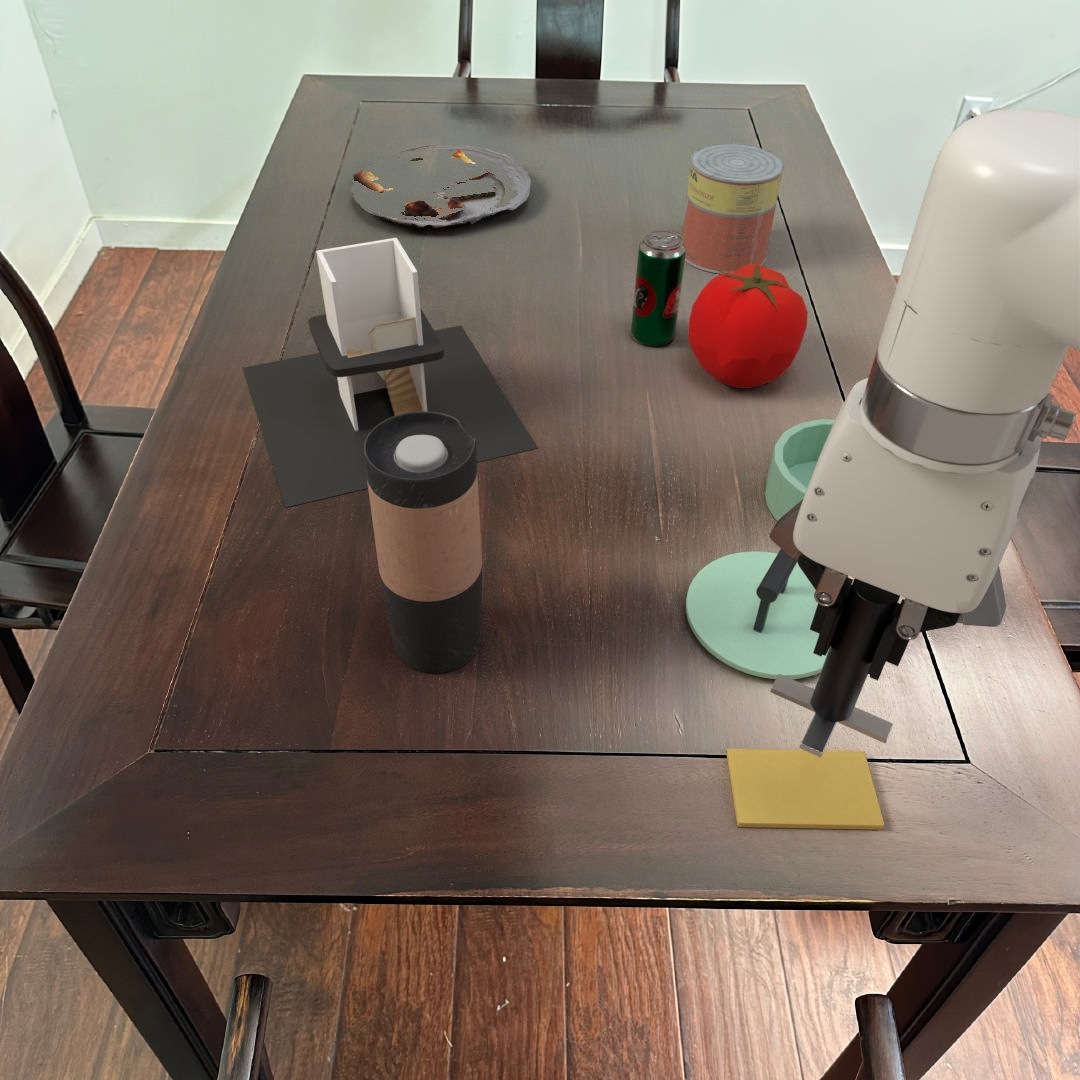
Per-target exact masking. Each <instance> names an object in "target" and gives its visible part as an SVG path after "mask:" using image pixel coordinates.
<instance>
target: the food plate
mask: <svg viewBox="0 0 1080 1080" xmlns="http://www.w3.org/2000/svg"><path fill="white" fill-rule="evenodd" d="M426 148H427V149H430V150H433V149H435V150H442V151H443V150H446V151H447V150H448V151H452V150H453V151H457V152H455V153H454V154H453V155H452V157H451V158H460V159H462V160H463V161H464V162H465V163H472V164H476V163H475V162H472V160H471V159H469V158H468V157H467V156H465V153H466V154H470V155H474V156H479V157H480V158H484V159H487V160H489V161H493V163H496V164H498V165H501V166H502V170H507V171H510V172H508V174H507V175H506V176H508V177H507V178H509V179H513V180H512V181H514V182H513V183H516V184H517V185H516V186H515V187H512V189H511V190H514V189H516V190H518V192H517V193H518V195H517V196H516V197H515V198H514V199H511V200H510V202H509V203H511V204H508V205H506V206H504V207H499V208H496V207H495V205H497V204H498V203H500V202H501V201H502V199H503V197H504V195H505V188H504V185H503V183H502V182H501V181H500V180H498V179H496V177H494V176H495V175H494V174H492V173H490V172H488V170H486V169H485V170H486V172H488V173H485V174H483V175H481V176H478V177H474V178H472V179H471V178H469V180H481V179H490V178H491V179H492V183H494V185H495V186H496V187H493V188H494V189H495V192H488V193H481V194H473V195H467V196H461V197H452V198H450V201H449V202H448V203H447V204H448V207H449V208H450V209H453V208H454V209H455V208H462V207H463V206H464V205H465V206H466V208H465V209H464V210H461V211H458V212H456V213H452V214H449V215H446V216H443V217H441V218H439V219H440V220H441V222H433V221H432V220H426V219H425V218H424V220H418V219H416V218H415V219H407V218H405V219H404V220H403V219H397V218H392V217H388V216H387V217H388V218H387V217H385V216H384V215H383V216H382V215H381V216H382V217H384V218H385V219H384V218H383V219H384V220H388V221H389V220H391V221H393V222H392V223H394V222H396V223H398V224H397V225H403V226H411V227H412V226H413V227H414V225H415V227H416V226H418V227H417V228H420V227H422V228H424V227H426V226H432V228H436V229H438V228H442V227H446V226H455V225H466V224H467V222H470V225H473V224H474V223H477V222H478V221H481V220H482V219H483V218H482V217H484V218H487V217H491V216H490V215H492V216H494V215H495V214H497V213H499V212H504V211H505V210H506V211H507V210H508V211H514V210H516V209H517V208H519V207H520V206H521V205H523V204H524V202H526V201H528V198H529V197H530V192H531V184H532V179H531V176H530V175H529V173H528V169H526V168H525V167H524V166H523V165H522V164H521V163H519V162H518V161H516V160H515V159H513V158H512V157H510V156H509V155H507V154H504V153H499V152H497V151H494V150H491V149H488V148H483V147H479V146H470V145H459V144H458V145H455V144H454V145H433V146H432V145H423V146H418V147H413V148H410V149H406V150H402V151H400V152H398V153H402V152H406V151H415V150H421V149H424V150H426ZM411 159H412V160H410V161H418V160H423V158H421V157H419V158H411ZM478 166H479V165H478ZM499 168H500V167H499ZM483 169H484V168H483ZM493 175H494V176H493ZM352 177H353V178H352V180H353V179H354V181H358V182H359V183H361V184H362V185H364V186H366V187H367V188H369V189H371V190H374V191H380V192H378V193H383V192H384V191H385V190H386V191H391V190H393V188H389V189H384V188H383V187H382V186H381V185H380V184H378V183H372V182H371V181H374V180H378V179H379V178H378V177H375V176H374V175H373V174H372V173H371V172H367V171H365V172H364V171H362V170H359V171H357V172H356V173H353V175H352ZM466 181H467V180H466ZM455 183H457V182H455ZM460 183H466V182H459V183H457V184H460ZM511 183H512V182H511ZM447 188H449V187H447ZM453 188H454V187H453ZM443 189H444V188H443ZM451 189H452V188H451ZM444 190H447V189H444ZM433 193H436V194H438V195H440V194H445V192H433ZM435 196H436V195H435ZM440 196H441V197H438V198H442V199H447V200H448V197H446V196H443V195H440ZM438 198H437V199H438ZM404 207H405V211H404V212H405V214H404V212H401V213H402V215H405V216H414V217H416V216H421V217H422V216H431V217H436V216H437V215H439V214H438V212H437V211H436V210H435V209H432V206H430V205H428V203H426V202H425V201H424V200H422V201H421V200H418V201H411V202H408V203H406V206H404ZM434 208H436V207H434ZM490 208H491V210H490ZM436 209H439V210H445V209H442V208H436ZM492 211H493V212H492ZM372 213H373V212H372ZM395 213H398V212H395ZM401 213H399V214H401ZM373 214H375V215H378V216H379V214H380V213H379V214H376V213H373ZM486 216H487V217H486ZM382 217H381V218H382ZM464 217H467V218H469V219H467V220H465V219H463V218H464ZM481 218H482V219H481ZM477 219H479V220H477ZM391 221H390V222H391ZM422 221H423V222H422ZM460 222H463V223H460ZM396 223H395V224H396Z"/></svg>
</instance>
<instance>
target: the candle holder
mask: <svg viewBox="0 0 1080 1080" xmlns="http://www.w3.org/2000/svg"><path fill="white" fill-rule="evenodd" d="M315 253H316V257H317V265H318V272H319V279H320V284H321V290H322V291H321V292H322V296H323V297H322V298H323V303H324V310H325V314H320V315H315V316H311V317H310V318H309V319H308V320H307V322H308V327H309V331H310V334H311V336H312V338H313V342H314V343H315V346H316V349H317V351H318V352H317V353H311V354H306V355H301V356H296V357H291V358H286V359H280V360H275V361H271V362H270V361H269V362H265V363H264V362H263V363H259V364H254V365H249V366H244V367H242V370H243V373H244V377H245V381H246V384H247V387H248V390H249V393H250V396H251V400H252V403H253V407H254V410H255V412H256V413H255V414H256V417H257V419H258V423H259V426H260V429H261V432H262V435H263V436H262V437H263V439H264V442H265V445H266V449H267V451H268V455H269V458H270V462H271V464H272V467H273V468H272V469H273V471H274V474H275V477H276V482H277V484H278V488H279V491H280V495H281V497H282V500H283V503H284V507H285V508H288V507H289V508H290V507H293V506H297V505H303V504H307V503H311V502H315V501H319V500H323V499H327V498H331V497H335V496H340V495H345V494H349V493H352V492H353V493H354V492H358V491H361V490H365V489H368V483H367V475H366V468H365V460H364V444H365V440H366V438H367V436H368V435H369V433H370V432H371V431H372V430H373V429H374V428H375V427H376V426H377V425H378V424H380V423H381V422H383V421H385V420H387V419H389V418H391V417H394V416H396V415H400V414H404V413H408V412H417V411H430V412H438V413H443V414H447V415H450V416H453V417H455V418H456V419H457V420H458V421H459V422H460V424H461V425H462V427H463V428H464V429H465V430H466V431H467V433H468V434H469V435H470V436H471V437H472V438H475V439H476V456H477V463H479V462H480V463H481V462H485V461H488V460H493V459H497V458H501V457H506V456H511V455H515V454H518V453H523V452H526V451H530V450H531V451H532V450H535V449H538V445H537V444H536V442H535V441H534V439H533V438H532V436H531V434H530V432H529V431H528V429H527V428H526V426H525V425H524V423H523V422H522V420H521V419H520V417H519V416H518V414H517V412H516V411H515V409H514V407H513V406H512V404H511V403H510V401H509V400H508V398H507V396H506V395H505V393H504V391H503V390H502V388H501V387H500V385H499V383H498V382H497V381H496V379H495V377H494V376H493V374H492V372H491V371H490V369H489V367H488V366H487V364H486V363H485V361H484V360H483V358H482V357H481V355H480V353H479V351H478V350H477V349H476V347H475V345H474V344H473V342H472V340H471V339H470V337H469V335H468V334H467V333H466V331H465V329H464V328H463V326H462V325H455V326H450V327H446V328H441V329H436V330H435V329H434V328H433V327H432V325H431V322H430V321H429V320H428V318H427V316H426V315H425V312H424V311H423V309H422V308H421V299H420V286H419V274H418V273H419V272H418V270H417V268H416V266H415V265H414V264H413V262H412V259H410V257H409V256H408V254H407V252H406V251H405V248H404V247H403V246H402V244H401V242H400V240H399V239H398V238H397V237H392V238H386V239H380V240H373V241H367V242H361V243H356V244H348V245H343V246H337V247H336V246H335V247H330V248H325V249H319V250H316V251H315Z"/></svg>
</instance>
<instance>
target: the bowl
mask: <svg viewBox="0 0 1080 1080" xmlns="http://www.w3.org/2000/svg"><path fill="white" fill-rule="evenodd" d="M835 420H836V419H832V418H831V419H826V418H824V419H823V418H820V419H813V420H809V421H804V422H801V423H797V424H796V425H794V426H792V427H790V428H789V429H786V430H785V431H783V433H782V434H781V435H780V437H779V438H778V440H777V441H776V443H775V444H774V446H773V447H774V448H773V452H772V456H771V460H770V464H769V468H768V472H767V476H766V480H765V489H764V499H765V503H766V506H767V508H768V511H769V512H770V513H771V516H773V518H774V520H776V522H777V521H778V520H779V519H780V518H781V517H782V516H784V515H785V514H786V513H787V512H788V511H789V510H791V509H792V508H793V507H794V506H795V505H797V504H798V503H799V502H800V501H801V500H802V499H804V496H805V493H806V490H807V488H808V485H809V482H810V480H811V477H812V474H813V471H814V469H815V466H816V464H817V461H818V459H819V456H820V454H821V451H822V449H823V446H824V444H825V442H826V440H827V437H828V435H829V433H830V431H831V428H832V426H833V424H834V422H835Z"/></svg>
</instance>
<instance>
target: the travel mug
mask: <svg viewBox="0 0 1080 1080" xmlns="http://www.w3.org/2000/svg"><path fill="white" fill-rule="evenodd" d="M364 460H365V468H366V475H367V483H368V488H367V489H368V497H369V504H370V505H369V506H370V511H371V513H370V514H371V519H372V520H371V521H372V527H373V535H374V536H373V537H374V543H375V549H376V557H377V564H378V572H379V578H380V583H381V588H382V593H383V598H384V603H385V609H386V615H387V619H388V625H389V629H390V635H391V640H392V644H393V645H392V646H393V649H394V651H395V653H396V655H397V657H398V658H399V660H400V661H401V662H403V663H404V664H405V665H406V666H408V668H411V669H413V670H415V671H418V672H421V673H427V674H443V673H449V672H452V671H455V670H457V669H460V668H461V667H464V666H465V665H467V664H468V663H469V662H470V661H472V659H473V658H474V657H475V656H476V654H477V653H478V651H479V649H480V647H481V643H482V635H483V554H482V550H483V549H482V533H481V516H480V515H481V514H480V513H481V512H480V498H479V495H480V493H479V478H478V462H477V456H476V439H475V438H472V437H471V436H470V435H469V434H468V433H467V431H466V430H465V429H464V428H463V427H462V425H461V424H460V422H459V421H458V420H457V419H456V418H455V417H453V416H450V415H447V414H443V413H438V412H430V411H417V412H408V413H404V414H400V415H396V416H394V417H391V418H389V419H387V420H385V421H383V422H381V423H380V424H378V425H377V426H376V427H375V428H374V429H373V430H372V431H371V432H370V433H369V435H368V436H367V438H366V440H365V444H364Z"/></svg>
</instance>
